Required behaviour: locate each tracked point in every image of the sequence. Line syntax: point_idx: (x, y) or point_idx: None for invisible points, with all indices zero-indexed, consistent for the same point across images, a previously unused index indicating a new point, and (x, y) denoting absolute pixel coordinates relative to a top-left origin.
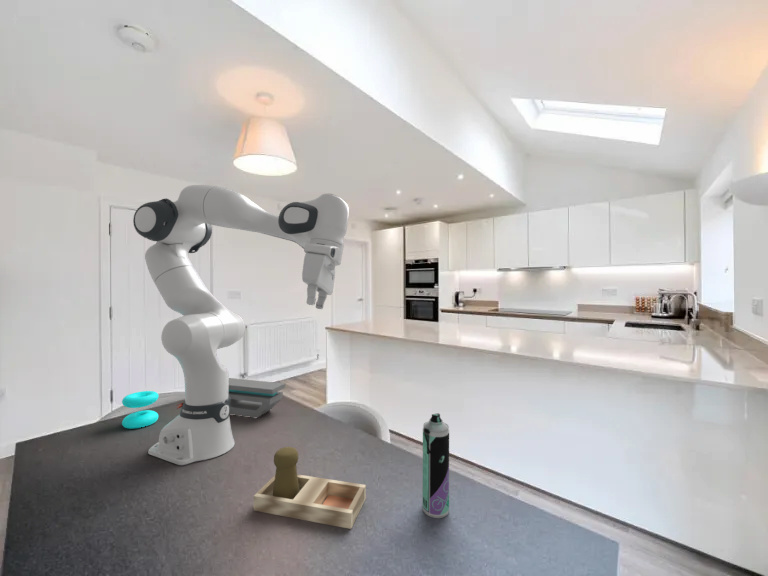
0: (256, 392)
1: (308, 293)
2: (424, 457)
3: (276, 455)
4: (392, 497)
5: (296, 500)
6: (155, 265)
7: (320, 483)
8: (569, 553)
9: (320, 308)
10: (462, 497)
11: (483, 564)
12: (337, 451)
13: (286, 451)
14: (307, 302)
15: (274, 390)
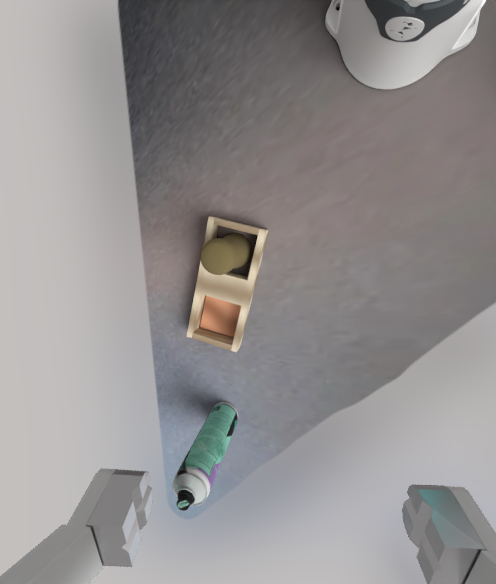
0: None
1: (30, 562)
2: (197, 443)
3: (205, 245)
4: (243, 374)
5: (203, 273)
6: None
7: (237, 296)
8: None
9: (402, 511)
10: (245, 444)
11: (164, 429)
12: (364, 302)
13: (209, 260)
14: (96, 478)
15: None
